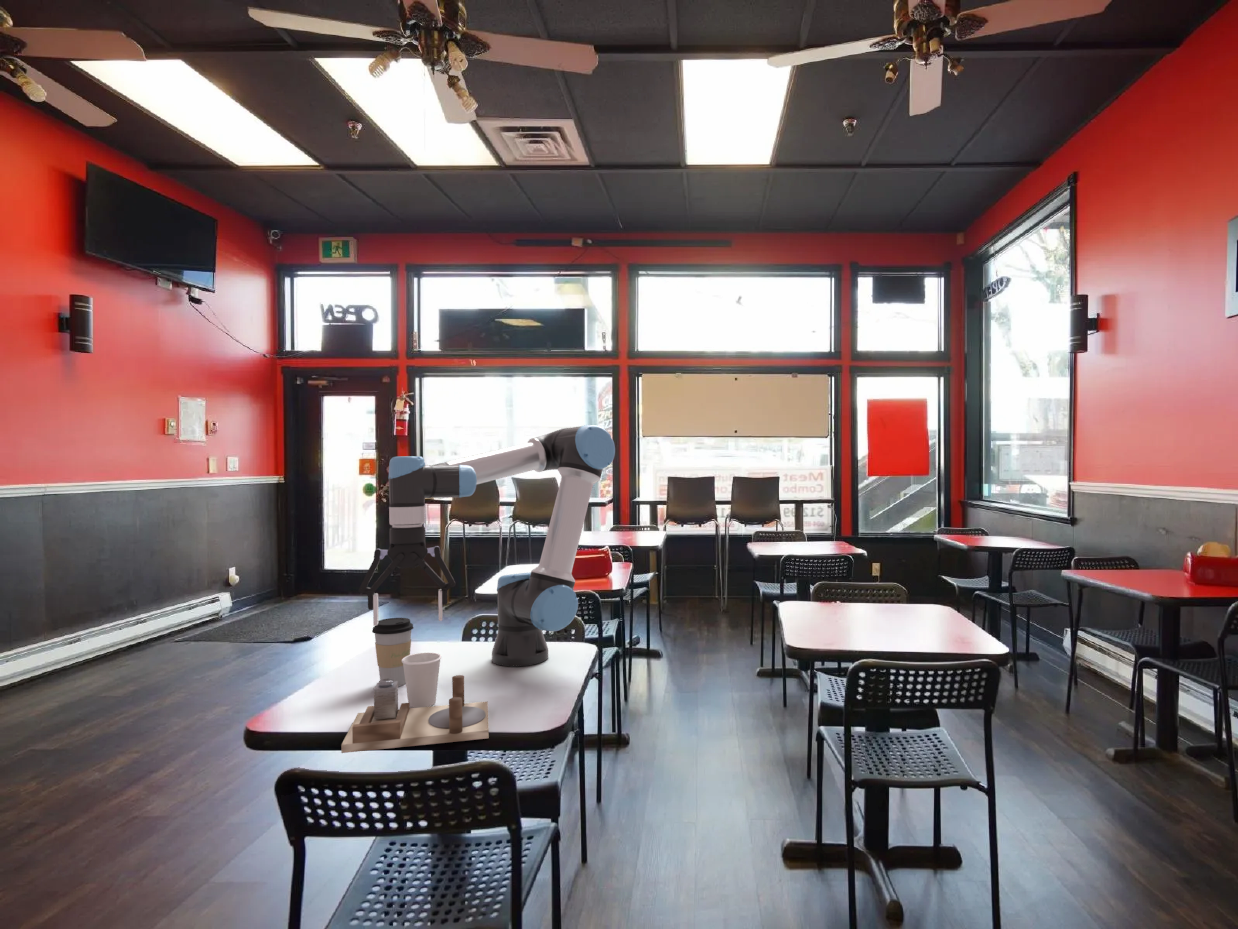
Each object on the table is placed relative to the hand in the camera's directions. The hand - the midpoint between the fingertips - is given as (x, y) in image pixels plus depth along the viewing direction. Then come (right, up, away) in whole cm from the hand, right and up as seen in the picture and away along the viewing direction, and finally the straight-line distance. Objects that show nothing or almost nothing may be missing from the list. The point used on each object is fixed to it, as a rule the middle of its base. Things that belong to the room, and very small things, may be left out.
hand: (408, 622), depth 142 cm
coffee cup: (-8, -18, +13) cm, 23 cm away
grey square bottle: (0, -16, -13) cm, 20 cm away
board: (+8, -17, -16) cm, 25 cm away
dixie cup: (+3, -18, -1) cm, 18 cm away
